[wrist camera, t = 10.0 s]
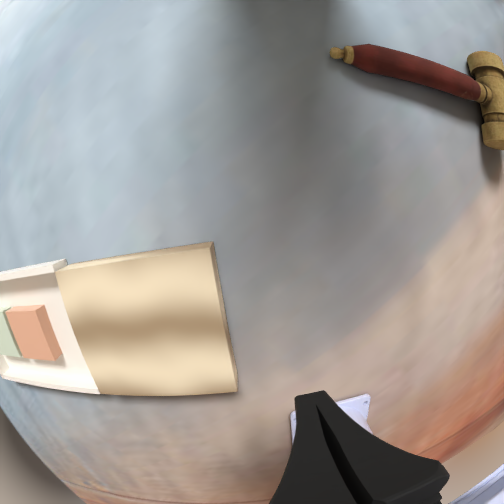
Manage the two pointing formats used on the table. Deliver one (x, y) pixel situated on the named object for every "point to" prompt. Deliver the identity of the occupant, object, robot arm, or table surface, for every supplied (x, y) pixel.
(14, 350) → the sage tile
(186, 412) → the table surface
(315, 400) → the robot arm
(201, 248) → the maple board
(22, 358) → the tray
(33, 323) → the terracotta tile
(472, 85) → the gavel
